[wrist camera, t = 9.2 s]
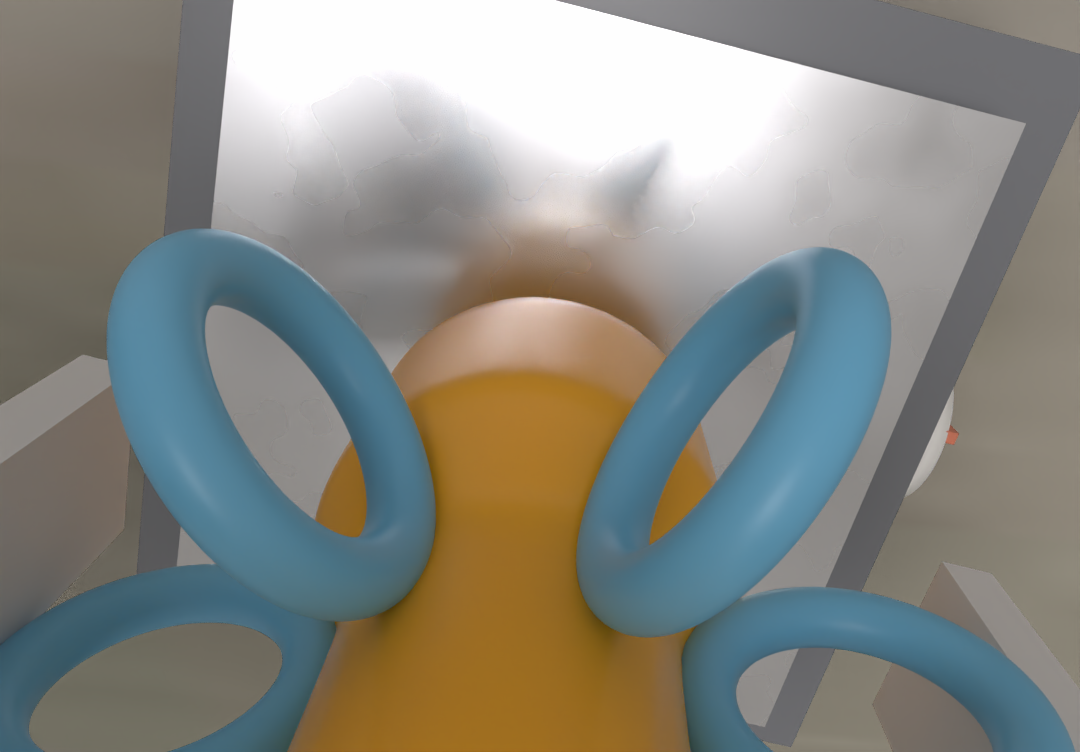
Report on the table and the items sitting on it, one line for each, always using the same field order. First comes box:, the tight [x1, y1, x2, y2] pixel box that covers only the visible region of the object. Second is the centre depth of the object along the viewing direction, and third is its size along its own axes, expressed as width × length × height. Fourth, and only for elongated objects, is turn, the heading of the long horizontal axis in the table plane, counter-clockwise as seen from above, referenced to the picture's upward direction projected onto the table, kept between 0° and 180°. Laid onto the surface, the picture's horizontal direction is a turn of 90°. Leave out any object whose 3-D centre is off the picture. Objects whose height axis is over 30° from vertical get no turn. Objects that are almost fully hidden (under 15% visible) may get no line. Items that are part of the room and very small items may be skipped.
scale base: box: [137, 0, 1080, 747], centre depth 22 cm, size 19×18×5 cm
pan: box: [177, 0, 1026, 727], centre depth 21 cm, size 15×15×5 cm
